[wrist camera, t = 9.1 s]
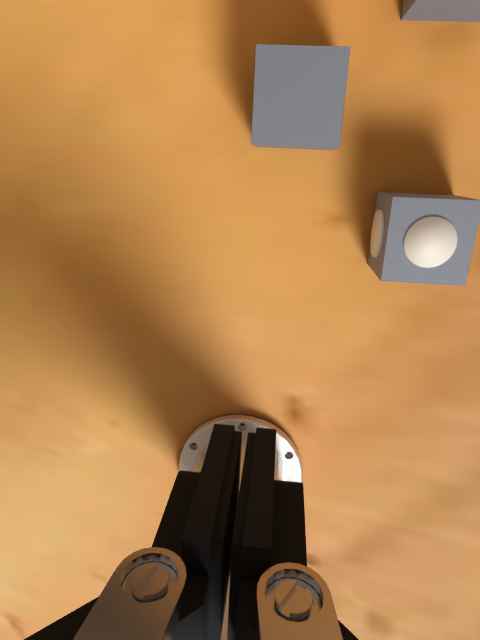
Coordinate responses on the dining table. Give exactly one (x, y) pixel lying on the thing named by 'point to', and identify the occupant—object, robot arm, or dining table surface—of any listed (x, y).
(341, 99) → the plain block
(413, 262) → the badge block
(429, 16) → the badge block
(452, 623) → the dining table surface
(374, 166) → the dining table surface
